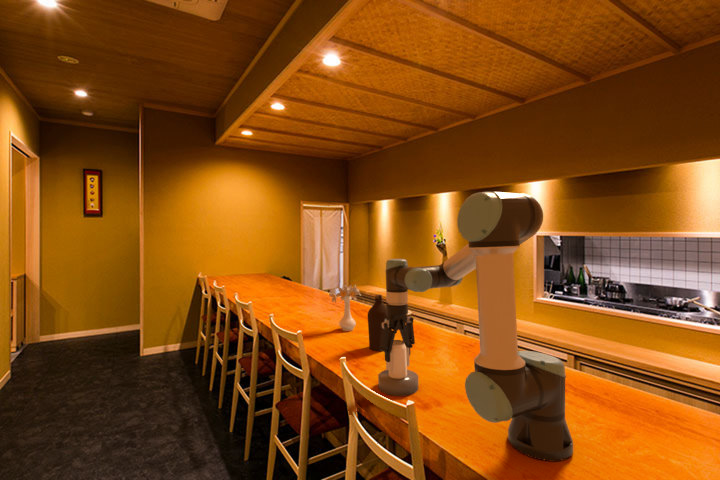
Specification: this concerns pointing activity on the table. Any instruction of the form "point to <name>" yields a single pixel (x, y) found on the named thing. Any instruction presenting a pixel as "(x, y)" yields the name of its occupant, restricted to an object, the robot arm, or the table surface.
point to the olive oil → (376, 322)
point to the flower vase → (346, 305)
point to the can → (399, 360)
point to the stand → (398, 384)
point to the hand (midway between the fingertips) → (398, 367)
